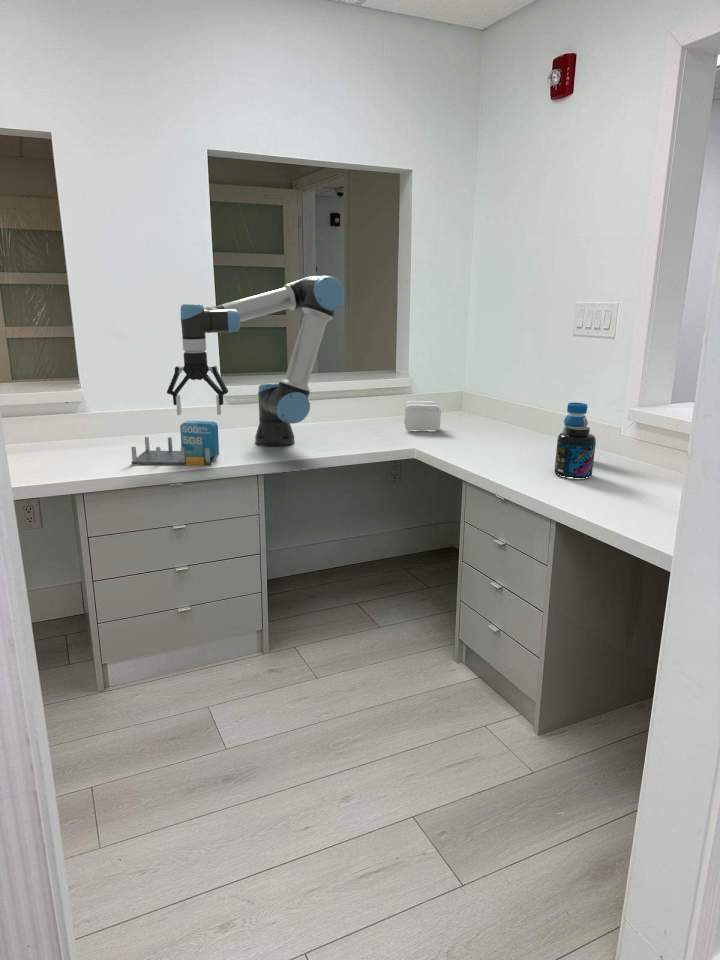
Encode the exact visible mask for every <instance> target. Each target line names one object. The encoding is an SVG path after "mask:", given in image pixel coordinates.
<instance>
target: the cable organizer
mask: <svg viewBox="0 0 720 960" xmlns="http://www.w3.org/2000/svg"><path fill="white" fill-rule="evenodd" d="M441 415H442V409H441V407H440V406H439V405H438V403H437V402H436V401H430V400H428V401H427V400H426V401H423V400H408V401H406V402H405V403H404V418H403V423H404V429H405V430H407V431H409V430H438V431H439V430H440V428H441Z"/></svg>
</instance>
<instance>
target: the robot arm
mask: <svg viewBox="0 0 720 960" xmlns="http://www.w3.org/2000/svg"><path fill="white" fill-rule="evenodd" d="M345 294H346V293H345V290H344V287H343V285H342V283H341V282H340V280H339V279H337V278H336V277H334V276H331V275H325V274H324V275H311V276H307V277H303V278H301V279H297V280H295V281H292V282H290V283H285V284H284V285H283V287H281V288H278V289H275V290H271V291H267V292H262V293H260V294H256V295H253V296H248V297H244V298H240V299H237V300H233V301H230V302H225V303H222V304H219V305H215V306H211V307H205V306H204V305H203V304H202V303H183V304H182V305H181V306H180V326H181V333H182V334H181V335H182V337H181V338H182V350H183V351H184V352H183V366H179V365H176V366H174V373H173V376H172V378H171V380H170V384H169V386H168V389H167V390H166V393H167V394H168V395H171V396H172V402H173V405H174V406H176V415H177V416H180V415H182V403H181V395H180V394H179V393H180V391H181V390H182V389H183V387H184V386H185V385H186V384H187V382H188V381H189V380H191V381H195V380H198V381H202V380H204V381H205V382H206V383H207V384H208V385H209V386H210V387H211V388H212V390H213V391H214V392H215V393H216V394H217V395H216V396H215V397H216V398H215V399H216V413H217V416H220V415H222V407H221V406H223V405H224V395H226V394H228V393H229V390H228V387H227V386H226V384H225V382H224V381H223V379H222V377H221V375H220V373H219V370H218V366H217V365H213V366H209V365H208V355H207V352H206V351H207V340H206V336H207V335H206V334H210V333H213V334H214V333H235V332H238V331H239V330H240V329H241V323H242V322H245V321H248V320H253V319H257V318H260V317H262V316H266V315H269V314H270V315H271V314H274V313H277V312H281V311H283V310H288V309H290V311H294V310H299V309H302V311H303V318H302V321H301V325H300V327H299V328H300V329H299V330H298V331H299V332H298V334H297V338H296V341H295V344H294V348H293V350H292V353H291V358H290V361H289V364H288V367H287V371H286V374H285V377H284V378H283V379H280V380H279V382H270V383H261V384H260V385H258V392H257V394H258V417H259V418H258V419H259V420H258V427H257V430H256V433H255V437H254V438H255V439H254V441H255V444H257V445H259V446H264V447H283V446H282V445H284V446H289V445H288V444H290V445H292V444H294V443H295V434H294V431H293V429H292V426H291V424H297V423H301V422H302V421H303V420H305V419H306V418H307V417H308V415H309V413H310V410H311V402H310V400H309V396H310V392H311V389H310V388H309V385H308V384H309V381H310V378H311V375H312V372H313V369H314V365H315V362H316V359H317V356H318V352H319V349H320V347H321V343H322V339H323V337H324V332H325V330H326V326H327V323H328V322H330V321H331V320H333V319H334V315H335V313H336V310H338V309H339V308H340V307H342V305H343V304H344V301H345ZM209 371H210V373H211V374H213V377H214V378H215V380H216V383H217V384H218V385H219V386H218V385H217V384H216V383H215V382H214V380H213V379H212V378H211V377H210V376H209V374H208V373H209ZM182 372H183V373H185V374H186V375H185V376H184V377H183V379H182V380H181V382H180V383H179V384H178V385H177V384H176V383H177V381H178V379H179V377H180V374H181V373H182ZM176 385H177V387H176ZM175 387H176V388H175Z"/></svg>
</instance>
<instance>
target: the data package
mask: <svg viewBox="0 0 720 960" xmlns="http://www.w3.org/2000/svg"><path fill="white" fill-rule="evenodd" d="M179 430H180V446H181V447H185V457H204V458H206V456H205V448H209V452H210V458H213V457H214V456H216V455H217V454H218V453H219V454H220V446H219V445H220V444H219V426H218V423H217V422H216V421H213V420H211V421H207V420H186V421H184V422H182V423H181V424H180V427H179ZM181 447H180V448H181Z"/></svg>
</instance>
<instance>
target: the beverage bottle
mask: <svg viewBox="0 0 720 960" xmlns="http://www.w3.org/2000/svg"><path fill="white" fill-rule="evenodd" d="M566 412H567V415H566V416H565V418H564V420H563V424H564V425H563V427H562V432H566V426H569V425H579V426H586V427H588V423H589V422H588V419H587V417H586V414H587V412H588V404H587V403H585V402H584V403H583V402H575V401H574V402H568V404H567V407H566Z"/></svg>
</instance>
